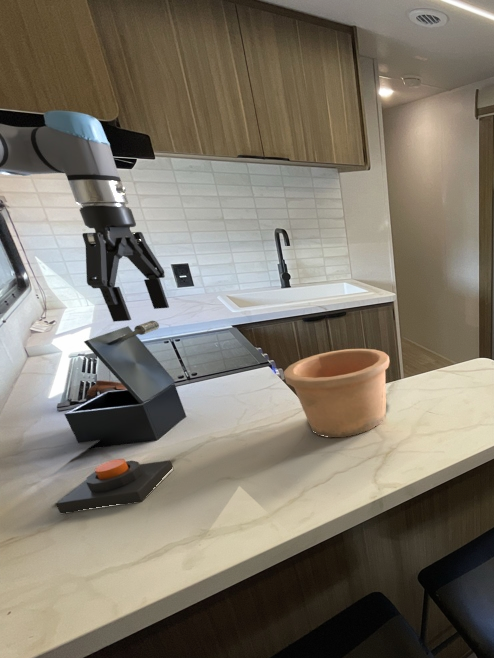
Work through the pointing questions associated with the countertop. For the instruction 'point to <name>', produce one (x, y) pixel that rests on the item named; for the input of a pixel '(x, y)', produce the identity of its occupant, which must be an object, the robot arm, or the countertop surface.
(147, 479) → the panel
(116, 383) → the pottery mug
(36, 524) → the countertop surface
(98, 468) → the button
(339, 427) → the pottery
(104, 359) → the lid
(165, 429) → the dark grey box
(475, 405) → the countertop surface
